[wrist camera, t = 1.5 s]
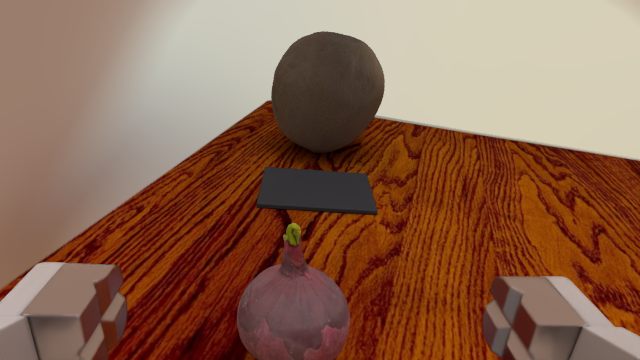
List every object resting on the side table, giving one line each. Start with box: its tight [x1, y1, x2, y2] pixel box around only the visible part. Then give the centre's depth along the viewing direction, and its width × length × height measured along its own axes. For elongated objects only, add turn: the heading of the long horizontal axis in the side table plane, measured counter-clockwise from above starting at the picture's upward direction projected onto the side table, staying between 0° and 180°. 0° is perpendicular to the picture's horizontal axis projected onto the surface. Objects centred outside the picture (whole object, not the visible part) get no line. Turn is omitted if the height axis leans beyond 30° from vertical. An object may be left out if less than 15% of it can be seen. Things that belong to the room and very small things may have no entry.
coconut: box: [272, 32, 384, 153], centre depth 54 cm, size 14×14×15 cm
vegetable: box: [237, 223, 350, 360], centre depth 23 cm, size 6×6×10 cm
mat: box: [257, 167, 377, 215], centre depth 46 cm, size 12×9×1 cm
